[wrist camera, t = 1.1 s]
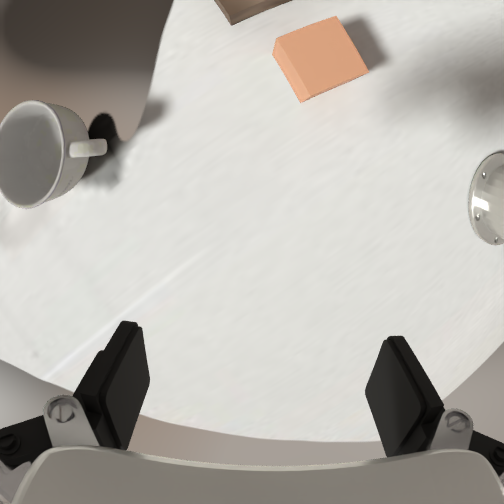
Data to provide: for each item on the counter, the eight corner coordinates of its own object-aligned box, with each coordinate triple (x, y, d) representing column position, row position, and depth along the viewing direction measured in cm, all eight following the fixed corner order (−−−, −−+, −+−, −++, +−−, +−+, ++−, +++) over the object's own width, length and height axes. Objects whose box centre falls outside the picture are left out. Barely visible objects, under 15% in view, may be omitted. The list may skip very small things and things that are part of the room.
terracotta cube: (322, 34, 27) (336, 15, 21) (349, 81, 28) (369, 72, 23) (272, 54, 28) (276, 38, 22) (300, 103, 29) (310, 96, 24)
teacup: (27, 185, 32) (-13, 200, 25) (38, 100, 28) (-4, 99, 21) (118, 204, 33) (85, 225, 26) (134, 109, 29) (102, 104, 22)
